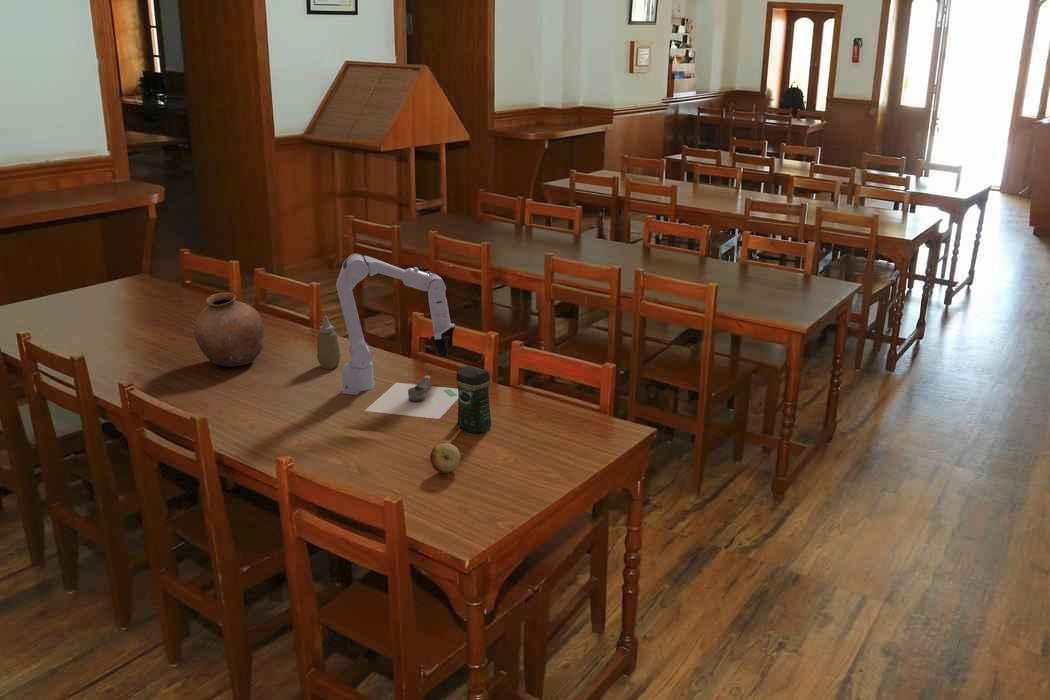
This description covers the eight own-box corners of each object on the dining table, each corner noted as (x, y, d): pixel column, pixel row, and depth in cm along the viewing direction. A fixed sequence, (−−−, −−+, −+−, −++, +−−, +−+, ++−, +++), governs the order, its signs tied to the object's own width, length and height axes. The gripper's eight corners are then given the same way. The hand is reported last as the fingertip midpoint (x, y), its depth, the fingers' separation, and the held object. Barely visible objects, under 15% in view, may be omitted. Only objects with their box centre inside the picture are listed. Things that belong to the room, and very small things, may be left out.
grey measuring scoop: (421, 402, 291) (420, 390, 290) (405, 401, 292) (405, 389, 291) (435, 388, 302) (435, 376, 301) (421, 386, 304) (420, 375, 302)
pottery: (264, 349, 345) (257, 282, 336) (269, 370, 324) (261, 300, 316) (198, 356, 338) (189, 289, 330) (199, 379, 317) (189, 307, 309)
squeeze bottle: (313, 368, 325) (308, 318, 319) (326, 361, 332) (322, 312, 326) (333, 371, 322) (329, 321, 316) (346, 364, 329) (342, 314, 323)
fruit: (426, 476, 248) (424, 448, 246) (439, 463, 256) (438, 436, 253) (452, 481, 246) (451, 452, 243) (465, 467, 253) (464, 440, 251)
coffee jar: (496, 427, 278) (494, 367, 271) (477, 436, 272) (475, 375, 266) (471, 419, 283) (469, 360, 277) (453, 427, 278) (450, 368, 272)
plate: (364, 415, 287) (364, 410, 286) (396, 386, 309) (396, 382, 308) (439, 423, 281) (439, 418, 280) (466, 394, 302) (466, 389, 302)
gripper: (446, 319, 296) (453, 359, 301) (456, 304, 309) (462, 342, 314) (425, 321, 297) (432, 361, 302) (435, 305, 311) (442, 344, 316)
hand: (446, 351), depth 308 cm, fingers open, 7 cm apart
